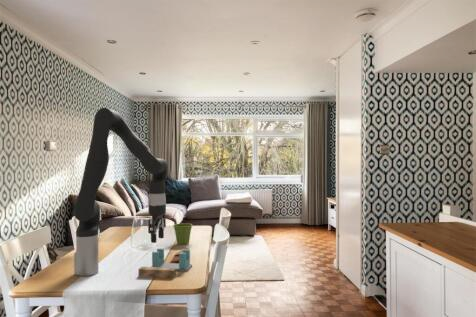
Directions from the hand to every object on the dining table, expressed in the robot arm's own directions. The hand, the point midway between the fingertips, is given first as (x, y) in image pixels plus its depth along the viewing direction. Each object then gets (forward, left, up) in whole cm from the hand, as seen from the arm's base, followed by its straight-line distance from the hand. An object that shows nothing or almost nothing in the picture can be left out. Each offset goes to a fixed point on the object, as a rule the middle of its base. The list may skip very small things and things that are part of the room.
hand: (157, 240), depth 160 cm
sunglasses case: (+1, +27, -16) cm, 31 cm away
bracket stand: (+2, +12, -16) cm, 20 cm away
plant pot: (-8, +60, -16) cm, 62 cm away
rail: (0, 0, -16) cm, 16 cm away
